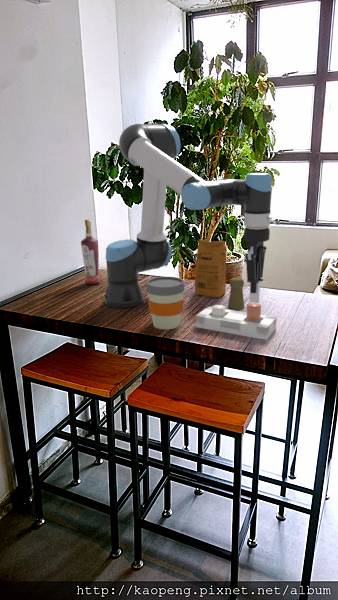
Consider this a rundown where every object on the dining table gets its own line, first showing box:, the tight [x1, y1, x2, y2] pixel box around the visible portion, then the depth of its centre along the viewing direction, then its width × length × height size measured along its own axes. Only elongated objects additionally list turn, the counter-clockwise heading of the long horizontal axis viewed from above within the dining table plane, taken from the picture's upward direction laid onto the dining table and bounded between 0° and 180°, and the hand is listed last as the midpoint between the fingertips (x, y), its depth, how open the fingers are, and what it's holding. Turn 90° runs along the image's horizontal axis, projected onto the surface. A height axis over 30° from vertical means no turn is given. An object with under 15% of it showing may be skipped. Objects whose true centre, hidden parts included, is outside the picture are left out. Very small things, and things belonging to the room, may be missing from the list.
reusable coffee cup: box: [146, 276, 186, 330], centre depth 150 cm, size 13×13×15 cm
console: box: [195, 305, 277, 340], centre depth 148 cm, size 24×10×4 cm, turn 61°
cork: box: [227, 277, 245, 311], centre depth 165 cm, size 6×6×11 cm
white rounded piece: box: [211, 304, 226, 318], centre depth 150 cm, size 4×4×4 cm
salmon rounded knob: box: [246, 302, 262, 321], centre depth 143 cm, size 4×4×4 cm
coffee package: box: [194, 238, 227, 299], centre depth 179 cm, size 10×12×22 cm
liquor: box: [80, 218, 101, 286], centre depth 196 cm, size 7×7×28 cm
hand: (254, 301), depth 142 cm, fingers closed
